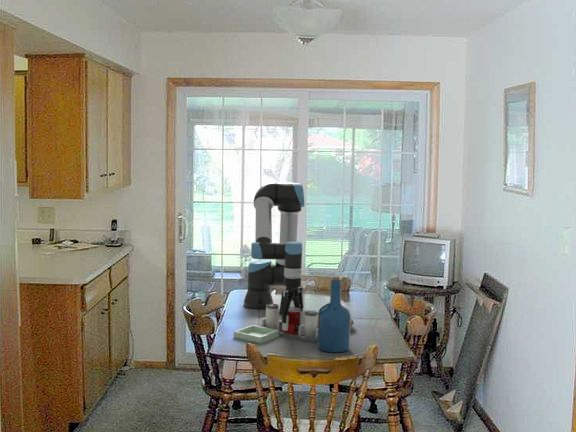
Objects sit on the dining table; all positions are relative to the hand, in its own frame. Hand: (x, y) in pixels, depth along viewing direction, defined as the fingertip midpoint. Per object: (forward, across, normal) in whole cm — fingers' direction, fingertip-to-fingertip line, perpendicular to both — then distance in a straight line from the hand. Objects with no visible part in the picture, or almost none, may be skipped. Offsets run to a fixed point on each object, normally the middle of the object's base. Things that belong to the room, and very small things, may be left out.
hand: (290, 327), depth 303 cm
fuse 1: (+2, 0, +10) cm, 10 cm away
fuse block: (+2, 0, 0) cm, 2 cm away
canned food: (+3, 0, 0) cm, 3 cm away
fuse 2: (+3, 0, -10) cm, 10 cm away
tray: (+2, -15, +8) cm, 17 cm away
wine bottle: (+3, -9, -26) cm, 28 cm away
